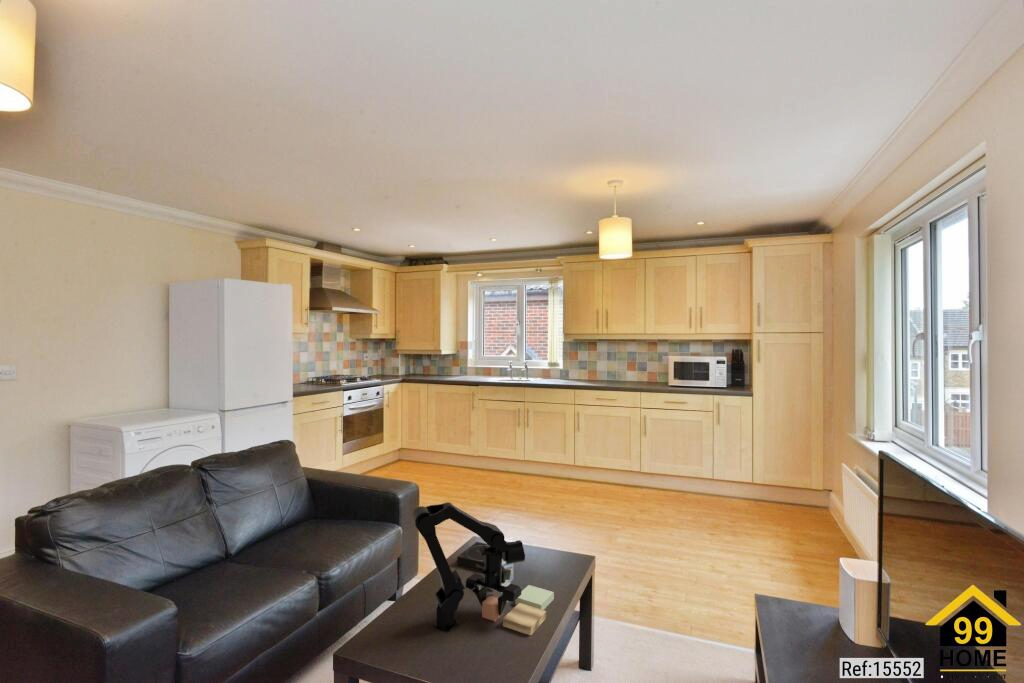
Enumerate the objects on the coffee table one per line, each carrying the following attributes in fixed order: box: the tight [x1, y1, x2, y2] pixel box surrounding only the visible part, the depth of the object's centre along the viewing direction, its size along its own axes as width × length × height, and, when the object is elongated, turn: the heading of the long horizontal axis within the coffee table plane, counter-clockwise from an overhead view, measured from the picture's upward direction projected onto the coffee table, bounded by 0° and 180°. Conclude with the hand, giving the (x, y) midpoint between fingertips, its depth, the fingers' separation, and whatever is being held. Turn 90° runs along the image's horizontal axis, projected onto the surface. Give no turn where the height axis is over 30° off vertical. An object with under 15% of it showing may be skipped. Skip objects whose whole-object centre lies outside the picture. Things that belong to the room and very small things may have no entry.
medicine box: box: [502, 559, 514, 584], centre depth 188 cm, size 8×4×9 cm, turn 143°
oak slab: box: [502, 603, 547, 636], centre depth 163 cm, size 11×10×2 cm
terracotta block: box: [481, 595, 504, 622], centre depth 166 cm, size 5×5×5 cm
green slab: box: [514, 584, 555, 610], centre depth 176 cm, size 10×10×2 cm
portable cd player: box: [456, 541, 490, 572], centre depth 207 cm, size 16×17×4 cm
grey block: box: [492, 582, 512, 604], centre depth 177 cm, size 5×5×5 cm
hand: (492, 612), depth 166 cm, fingers open, 6 cm apart
